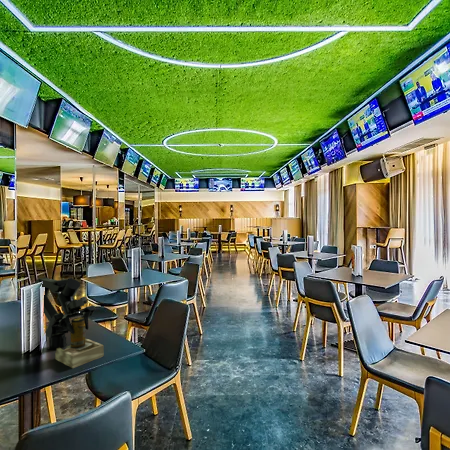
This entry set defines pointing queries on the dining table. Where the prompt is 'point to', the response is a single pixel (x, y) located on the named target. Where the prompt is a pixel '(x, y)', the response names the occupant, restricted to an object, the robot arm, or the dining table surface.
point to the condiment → (78, 334)
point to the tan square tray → (80, 354)
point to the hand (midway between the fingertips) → (80, 331)
